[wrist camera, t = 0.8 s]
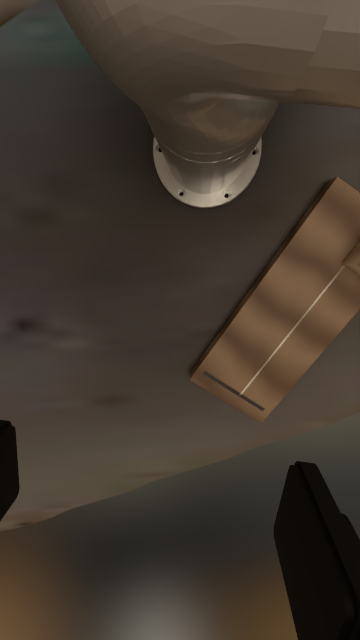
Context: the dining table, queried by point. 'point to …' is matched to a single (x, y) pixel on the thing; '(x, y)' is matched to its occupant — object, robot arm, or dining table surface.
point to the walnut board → (288, 309)
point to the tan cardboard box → (354, 260)
